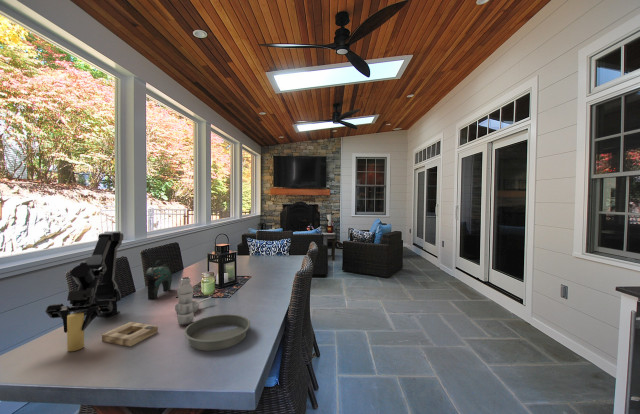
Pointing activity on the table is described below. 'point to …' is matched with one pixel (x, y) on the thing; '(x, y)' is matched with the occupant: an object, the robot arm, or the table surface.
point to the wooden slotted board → (128, 340)
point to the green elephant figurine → (158, 280)
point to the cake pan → (217, 338)
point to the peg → (75, 331)
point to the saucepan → (194, 305)
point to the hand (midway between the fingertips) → (73, 331)
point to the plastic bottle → (185, 302)
